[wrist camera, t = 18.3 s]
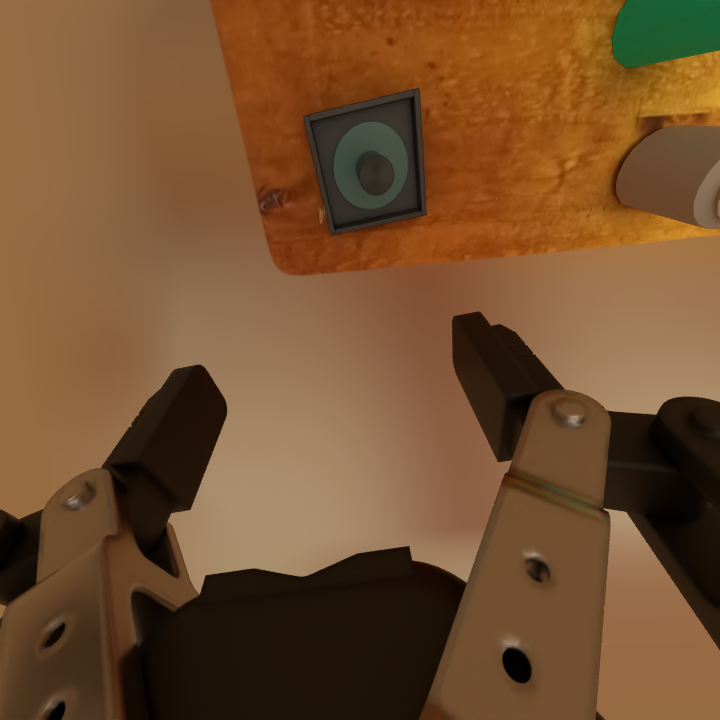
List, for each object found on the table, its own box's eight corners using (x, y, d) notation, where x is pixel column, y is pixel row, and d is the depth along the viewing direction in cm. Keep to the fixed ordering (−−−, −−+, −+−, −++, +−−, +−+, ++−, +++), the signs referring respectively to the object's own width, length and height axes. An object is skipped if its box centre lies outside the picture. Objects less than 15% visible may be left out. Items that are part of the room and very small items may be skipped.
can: (625, 131, 32) (748, 133, 23) (699, 121, 32) (855, 118, 22) (600, 210, 37) (693, 240, 27) (665, 201, 36) (782, 228, 27)
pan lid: (342, 214, 35) (343, 231, 29) (324, 131, 30) (321, 132, 25) (409, 199, 34) (424, 213, 29) (402, 112, 30) (417, 109, 24)
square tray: (331, 229, 36) (331, 235, 34) (305, 116, 30) (302, 116, 28) (421, 210, 36) (426, 215, 34) (414, 90, 29) (419, 87, 27)
